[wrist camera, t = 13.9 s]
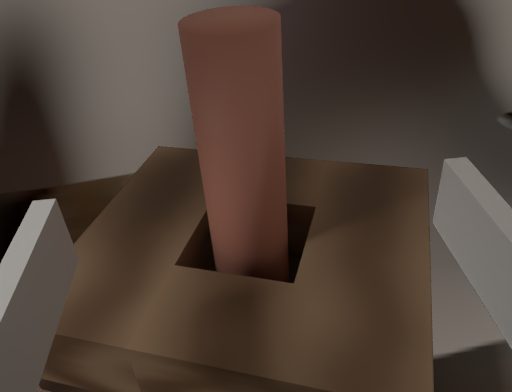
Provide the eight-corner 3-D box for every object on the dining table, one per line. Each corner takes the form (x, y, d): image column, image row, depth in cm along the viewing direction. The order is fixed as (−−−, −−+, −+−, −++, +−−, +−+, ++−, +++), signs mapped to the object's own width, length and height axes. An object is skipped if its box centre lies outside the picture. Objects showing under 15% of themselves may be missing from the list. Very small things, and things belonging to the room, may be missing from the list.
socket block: (41, 388, 24) (4, 323, 21) (170, 203, 36) (158, 146, 33) (415, 480, 19) (434, 412, 16) (417, 232, 32) (427, 169, 29)
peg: (210, 309, 26) (160, 33, 18) (232, 260, 29) (199, 5, 21) (280, 322, 25) (265, 36, 16) (296, 269, 28) (290, 5, 20)
